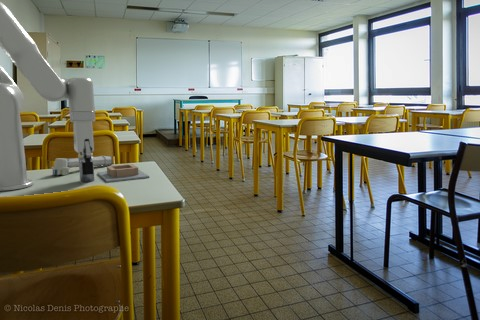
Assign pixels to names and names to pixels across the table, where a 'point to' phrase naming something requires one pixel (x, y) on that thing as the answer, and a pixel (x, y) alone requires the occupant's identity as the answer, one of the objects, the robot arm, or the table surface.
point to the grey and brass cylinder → (82, 177)
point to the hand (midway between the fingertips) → (86, 172)
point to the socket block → (122, 173)
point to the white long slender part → (77, 164)
